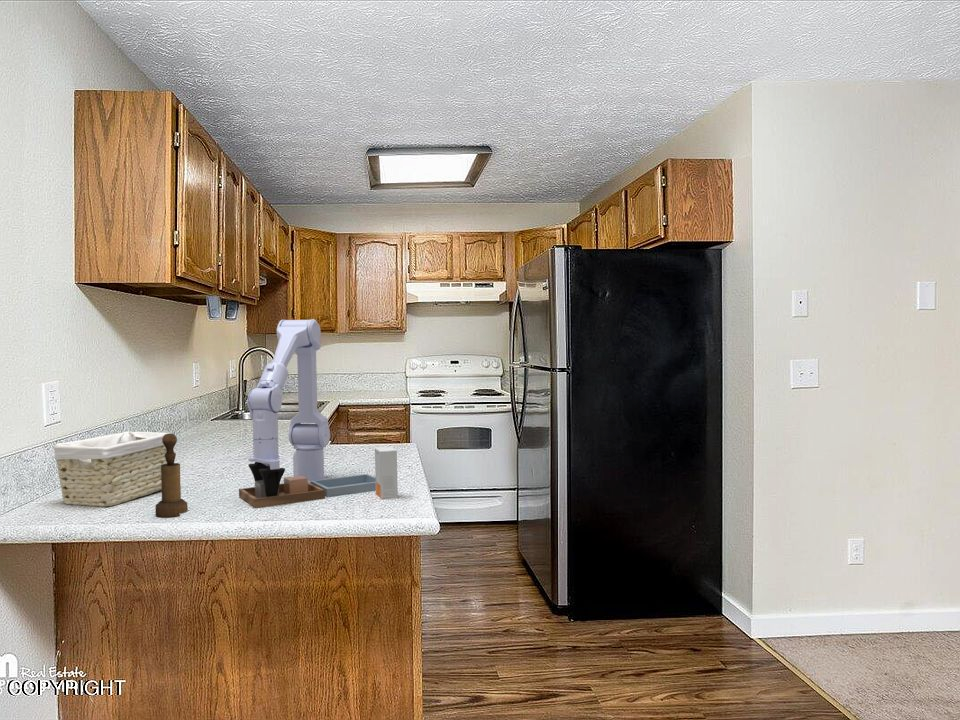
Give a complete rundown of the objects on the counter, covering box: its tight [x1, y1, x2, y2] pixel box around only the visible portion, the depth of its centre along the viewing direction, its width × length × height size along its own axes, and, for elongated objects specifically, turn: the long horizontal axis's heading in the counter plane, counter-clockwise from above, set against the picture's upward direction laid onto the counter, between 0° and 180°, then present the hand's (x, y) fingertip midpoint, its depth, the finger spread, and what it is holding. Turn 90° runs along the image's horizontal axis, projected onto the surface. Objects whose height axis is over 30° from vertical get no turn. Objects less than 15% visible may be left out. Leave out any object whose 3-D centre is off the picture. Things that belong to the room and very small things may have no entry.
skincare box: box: [374, 446, 399, 500], centre depth 175 cm, size 6×4×12 cm
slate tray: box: [309, 473, 376, 498], centre depth 183 cm, size 12×16×2 cm
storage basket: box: [53, 431, 171, 508], centre depth 181 cm, size 24×16×15 cm
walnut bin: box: [238, 482, 326, 509], centre depth 174 cm, size 14×17×2 cm
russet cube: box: [283, 475, 308, 495], centre depth 176 cm, size 4×4×4 cm
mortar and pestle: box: [154, 432, 189, 518], centre depth 162 cm, size 7×6×18 cm
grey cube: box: [254, 480, 279, 498], centre depth 172 cm, size 4×4×4 cm
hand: (266, 495), depth 172 cm, fingers open, 7 cm apart
